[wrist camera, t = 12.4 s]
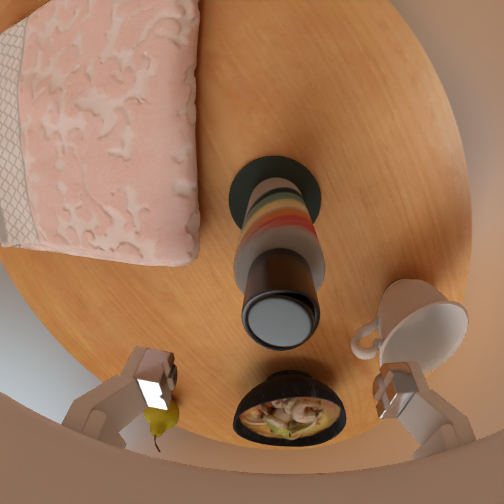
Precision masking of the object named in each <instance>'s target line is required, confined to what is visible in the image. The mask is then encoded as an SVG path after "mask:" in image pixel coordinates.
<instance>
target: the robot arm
mask: <svg viewBox="0 0 504 504" xmlns="http://www.w3.org/2000/svg"><path fill="white" fill-rule="evenodd" d="M174 360H175V357H174V353H171V352H166V351H161V350H156V349H151V348H145V347H140V346H136V347H135V348H134V349H133V351H132V353H131V355H130V357H129V359H128V361H127V363H126V365H125V367H124V369H123V371H122V373H121V375H116V376H114V377H112V378H111V379H109V380H107V381H106V382H104V383H102V384H101V385H99V386H98V387H96V388H94V389H93V390H91V391H89V392H87V393H86V394H84V395H82V396H81V397H79V398H77V399H76V400H74V401H73V403H72V405H71V407H70V409H69V411H68V412H67V415H66V416H65V418H64V420H63V422H62V424H59V423H56V422H54V421H52V420H50V419H48V418H46V417H44V416H42V415H40V414H38V413H36V412H34V411H33V410H31V409H29V408H27V407H25V406H23V405H22V404H20V403H18V402H17V401H15V400H13V399H12V398H10V397H9V396H7V395H5V394H3V393H0V504H504V429H502V430H500V431H498V432H496V433H494V434H491V435H489V436H487V437H484V438H482V439H479V440H476V438H475V436H474V433H473V430H472V428H471V425H470V422H469V420H468V418H467V417H466V416H465V415H463V414H462V413H461V412H460V411H459V410H457V409H456V408H455V407H454V406H452V405H451V404H450V403H449V402H447V401H446V400H445V399H444V398H442V397H441V396H440V395H438V394H437V393H436V392H435V391H433V390H429V387H428V385H427V383H426V380H425V378H424V375H423V373H422V371H421V368H420V366H419V364H418V362H417V361H409V362H395V363H384V364H383V365H382V366H381V368H380V372H381V373H380V374H379V375H377V376H376V378H375V380H374V382H373V396H374V398H375V399H376V400H377V401H378V404H377V406H376V408H377V412H378V416H379V419H388V418H397V417H398V418H397V419H398V420H399V421H400V422H401V423H402V425H403V426H404V427H405V428H406V429H407V430H408V431H409V433H410V434H411V435H412V436H413V437H414V438H415V439H416V440H417V442H418V443H419V444H420V445H421V447H420V448H419V449H418V450H416V451H415V452H414V454H413V455H412V456H413V460H411V461H407V462H403V463H398V464H393V465H387V466H382V467H375V468H369V469H362V470H354V471H344V472H333V473H318V474H264V473H248V472H237V471H227V470H218V469H211V468H204V467H198V466H192V465H187V464H182V463H177V462H172V461H168V460H163V459H159V458H155V457H151V456H147V455H143V454H140V453H136V452H133V451H130V450H126V449H125V446H126V443H125V441H124V440H123V438H122V437H121V436H120V434H119V433H118V432H119V431H120V430H122V429H123V428H124V427H125V426H126V425H128V424H129V423H130V422H131V421H132V420H133V419H135V418H136V417H137V416H138V415H139V414H141V413H142V412H143V411H144V410H145V409H146V408H148V407H147V406H149V407H154V408H159V409H165V410H168V408H169V405H170V401H171V398H172V395H171V392H170V391H172V390H173V389H174V388H175V386H176V382H177V367H176V365H175V364H173V363H174Z"/></svg>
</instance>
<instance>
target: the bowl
mask: <svg viewBox="0 0 504 504" xmlns="http://www.w3.org/2000/svg"><path fill="white" fill-rule="evenodd" d="M345 424H346V412H345V409H344V406H343V403H342V401H341V400H340V398H339V397H338V396H337V395H336V393H335V392H334V391H333V390H331V389H330V388H329V387H328V386H327V385H325V384H323V383H321V382H320V381H318V380H315V379H313V378H312V377H311V376H310V375H308V374H306V373H304V372H301V371H295V370H288V371H281V372H278V373H275V374H273V375H272V376H270V377H269V378H268V379H267V380H266V381H265V382H263V383H261V384H259V385H258V386H256V387H255V388H253V389H252V390H251V391H250V392H249V393H248V394H247V395H246V396H245V397H244V398H243V399H242V401H241V402H240V404H239V405H238V408H237V411H236V413H235V416H234V421H233V429H234V431H235V432H236V433H237V434H238V435H239V436H241V437H243V438H245V439H247V440H250V441H253V442H256V443H260V444H266V445H273V446H291V447H303V446H312V445H317V444H321V443H324V442H326V441H328V440H331V439H332V438H334V437H335V436H337V435H338V434H339V433H340V432H341V431H342V430H343V428H344V427H345Z"/></svg>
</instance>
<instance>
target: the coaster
mask: <svg viewBox="0 0 504 504" xmlns="http://www.w3.org/2000/svg"><path fill="white" fill-rule="evenodd" d="M269 178H283V179H286V180H289V181H290V182H292V183H293V184H294V185H295V186H296V187H297V188H298V189H299V191H300V193H301V195H302V197H303V199H304V202H305V205H306V207H307V210H308V213H309V215H310V218H311V221H312V223H313V224H314V222H315V220H316V218H317V216H318V213H319V210H320V204H321V197H320V190H319V187H318V184H317V182H316V180H315V178H314V177H313V175H312V174H311V173H310V171H309V170H308V169H307V168H306V167H304V166H303V165H302V164H300V163H299V162H297V161H295V160H293V159H290V158H287V157H283V156H267V157H262V158H259V159H256V160H254V161H252V162H250V163H249V164H247V165H246V166H245V167H244V168H243V169H242V170H241V171H240V172H239V173H238V174H237V176H236V177H235V179H234V181H233V183H232V185H231V188H230V193H229V207H230V211H231V214H232V217H233V219H234V221H235V222H236V224H237V225H238V227H239V228H240V229H241V230H242V227H243V223H244V219H245V215H246V212H247V208H248V204H249V200H250V197H251V194H252V192H253V190H254V189H255V188H256V186H257V185H258V184H259V183H261V182H262V181H264V180H266V179H269Z"/></svg>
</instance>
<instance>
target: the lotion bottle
mask: <svg viewBox="0 0 504 504" xmlns="http://www.w3.org/2000/svg"><path fill="white" fill-rule="evenodd" d="M233 270H234V278H235V281H236V284H237V286H238V288H239V289H240V291H241V292H242V293H243V294H244V301H243V307H242V323H243V326H244V328H245V330H246V332H247V333H248V335H249V336H250V337H251V338H252V339H253V340H254V341H255V342H256V343H258V344H259V345H261V346H263V347H265V348H267V349H270V350H276V351H285V350H290V349H293V348H296V347H298V346H300V345H302V344H303V343H305V342H306V341H307V340H308V339H309V338H310V337H311V336H312V335H313V333H314V332H315V330H316V329H317V326H318V324H319V320H320V307H319V303H318V298H317V294H316V292H317V291H318V290H319V288H320V286H321V284H322V282H323V279H324V276H325V260H324V256H323V252H322V249H321V246H320V243H319V240H318V237H317V235H316V232H315V229H314V226H313V223H312V221H311V218H310V215H309V213H308V210H307V207H306V205H305V202H304V199H303V197H302V195H301V193H300V191H299V189H298V188H297V187H296V186H295V185H294V184H293V183H292V182H290V181H289V180H286V179H283V178H269V179H266V180H264V181H262V182H261V183H259V184H258V185H257V186H256V188H255V189H254V190H253V192H252V194H251V197H250V200H249V204H248V208H247V212H246V215H245V219H244V223H243V227H242V231H241V234H240V238H239V242H238V246H237V250H236V254H235V259H234V267H233Z"/></svg>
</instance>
